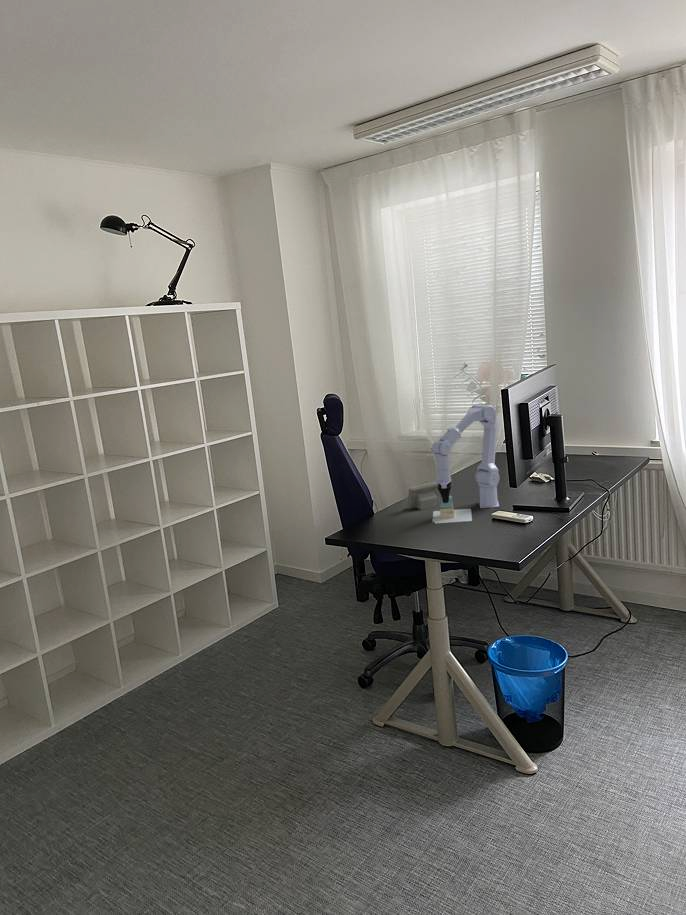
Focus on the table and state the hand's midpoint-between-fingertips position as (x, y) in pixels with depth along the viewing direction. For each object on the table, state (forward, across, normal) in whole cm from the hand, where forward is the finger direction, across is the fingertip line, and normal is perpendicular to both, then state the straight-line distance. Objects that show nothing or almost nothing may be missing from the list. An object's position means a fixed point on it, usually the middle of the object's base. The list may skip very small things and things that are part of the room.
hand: (445, 501), depth 296 cm
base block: (+7, 0, 0) cm, 7 cm away
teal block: (+2, 0, 0) cm, 2 cm away
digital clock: (+7, -18, -10) cm, 22 cm away
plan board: (+7, 0, +2) cm, 7 cm away
